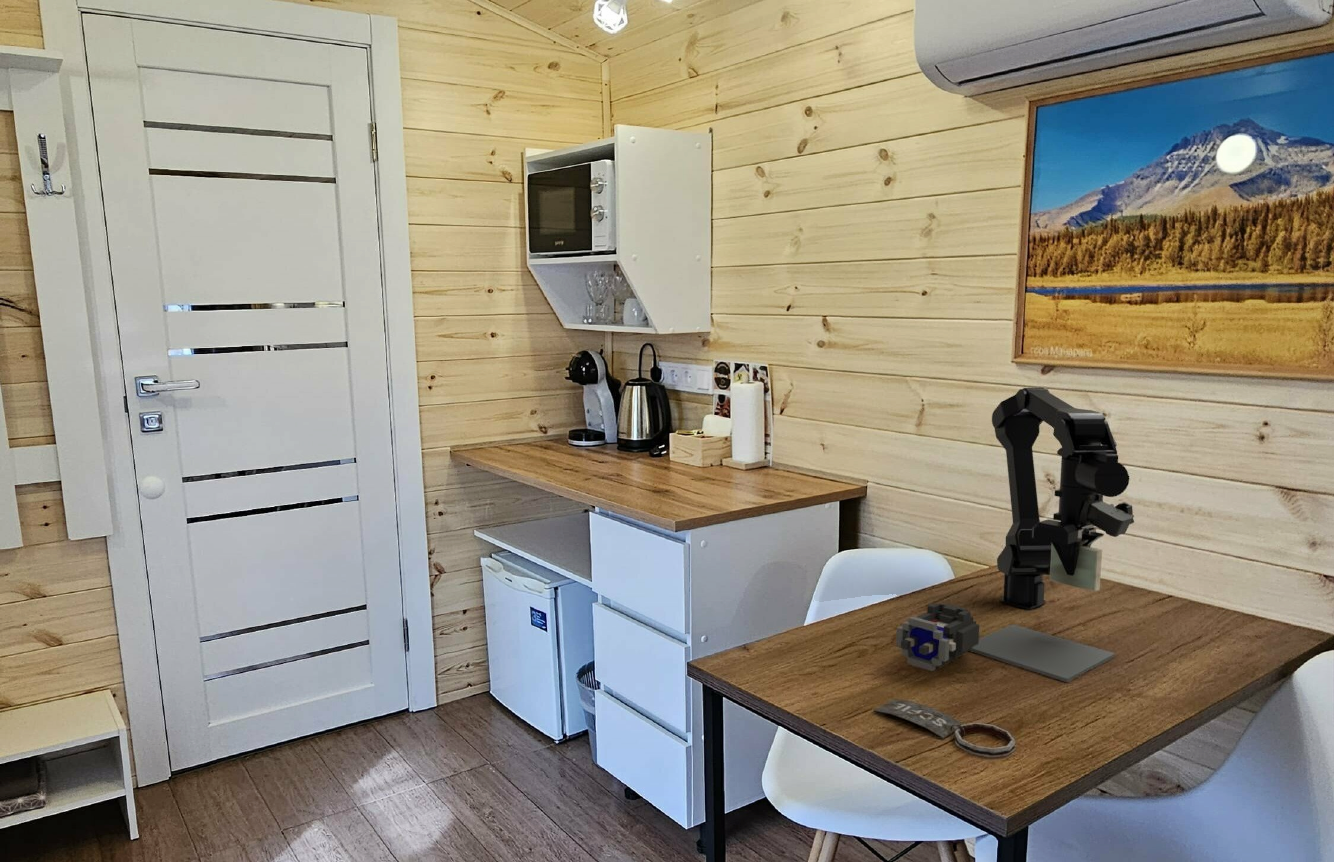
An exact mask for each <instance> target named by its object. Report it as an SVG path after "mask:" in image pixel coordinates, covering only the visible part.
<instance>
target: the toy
mask: <svg viewBox="0 0 1334 862" xmlns="http://www.w3.org/2000/svg"><path fill="white" fill-rule="evenodd" d="M895 635H896V637H895V638H896V641H895V648H898V649H901V656H903V657H906V658H907V664H908V665H910V666H911V665H912V666H914V667H918V668H921V669H924V670H927V671H930V672H933V671H935V670H936V668H938V669H941V668H942V667H944V666H946V665H947V664H949V663H951V662H954V660H957V658H959V657H961V656H962V655H965V654H966V653H967V652H968V650H970V649H972V647H974V646H975V645H977V644H979V638H980V624H978V623H977V621H975V620H974V616H972V615H971V611H970V610H969V611H968V608H966V607H962V606H958V605H954V604H950V603H946V602H942V603H938V602H933V603H930V604H928V605H927V610H926V612H923V613H921V614H920V615H917V616H910V617H909V618H908V620H907V621H903V622H902V625H900V626H897V627H896V633H895Z"/></svg>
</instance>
